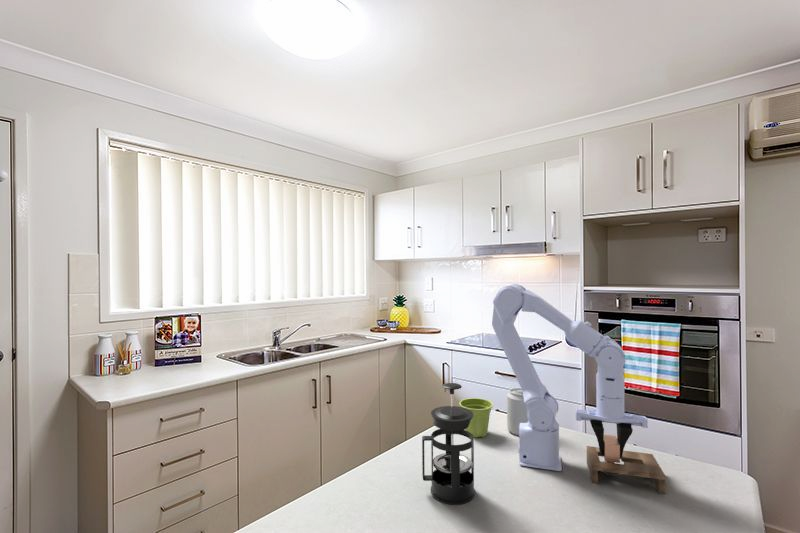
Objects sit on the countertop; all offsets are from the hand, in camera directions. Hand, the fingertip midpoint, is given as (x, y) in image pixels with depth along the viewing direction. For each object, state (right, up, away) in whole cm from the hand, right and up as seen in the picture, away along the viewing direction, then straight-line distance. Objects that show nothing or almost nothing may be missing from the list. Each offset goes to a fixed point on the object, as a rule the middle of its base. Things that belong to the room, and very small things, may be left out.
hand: (610, 454), depth 93 cm
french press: (-37, -5, -6) cm, 38 cm away
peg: (0, -4, 0) cm, 4 cm away
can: (-13, -5, +25) cm, 28 cm away
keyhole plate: (+2, -5, -1) cm, 5 cm away
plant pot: (-26, -5, +24) cm, 36 cm away
